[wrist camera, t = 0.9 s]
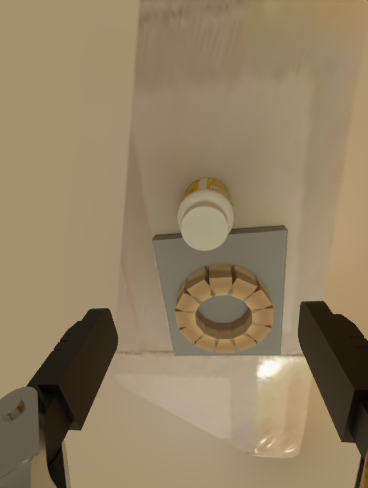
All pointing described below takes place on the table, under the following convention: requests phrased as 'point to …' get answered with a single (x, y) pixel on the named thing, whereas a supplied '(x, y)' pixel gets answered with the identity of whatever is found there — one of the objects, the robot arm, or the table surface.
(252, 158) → the table surface
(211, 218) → the supplement bottle
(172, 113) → the table surface
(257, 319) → the segmented wooden ring
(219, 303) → the gray rectangular board
